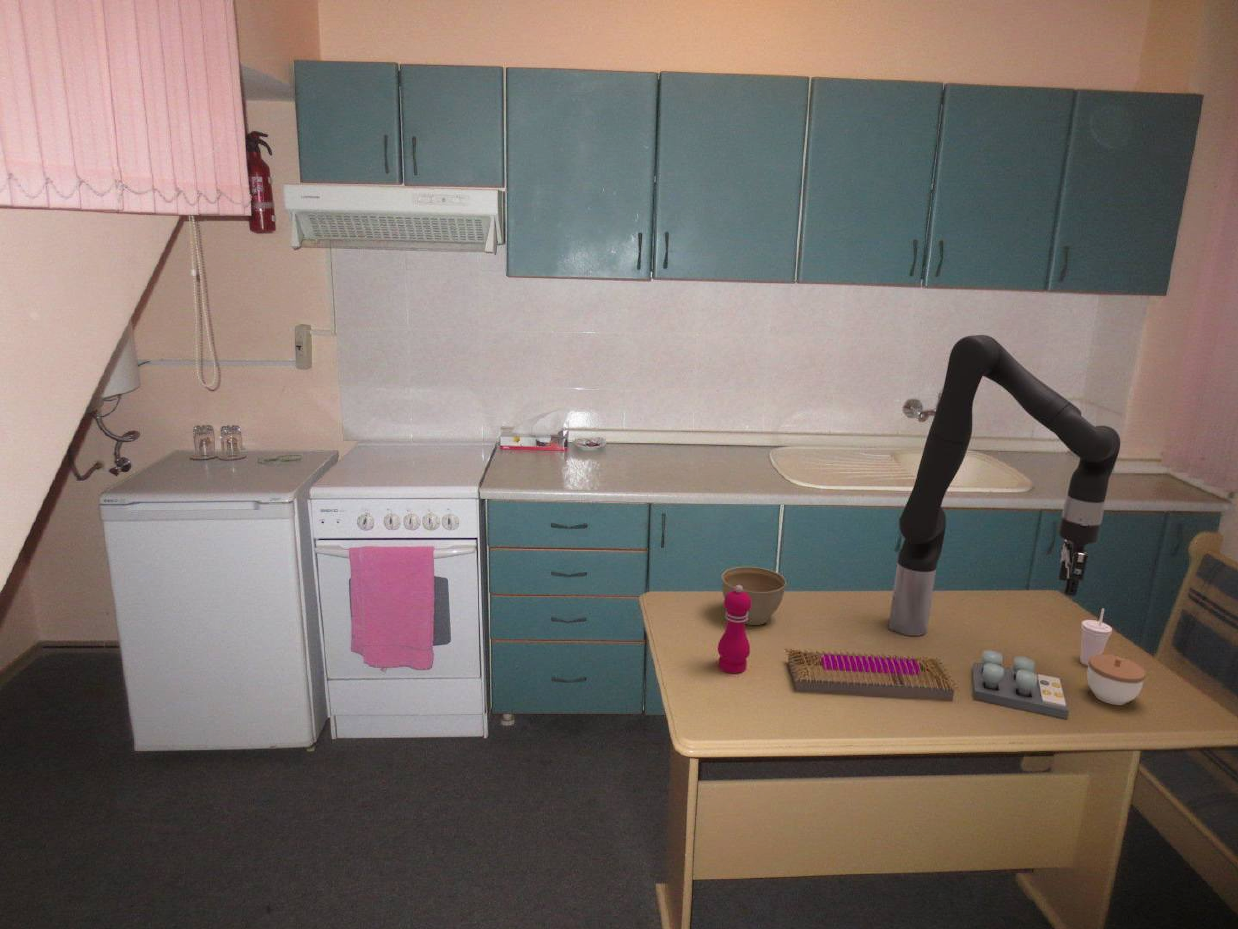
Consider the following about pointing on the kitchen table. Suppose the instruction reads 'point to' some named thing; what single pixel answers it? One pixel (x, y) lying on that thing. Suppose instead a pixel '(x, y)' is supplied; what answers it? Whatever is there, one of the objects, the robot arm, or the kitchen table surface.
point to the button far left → (991, 658)
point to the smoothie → (1093, 638)
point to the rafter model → (871, 666)
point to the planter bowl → (756, 590)
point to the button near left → (992, 675)
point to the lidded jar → (1114, 678)
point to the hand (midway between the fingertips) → (1066, 587)
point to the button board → (1041, 699)
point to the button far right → (1023, 664)
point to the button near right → (1025, 682)
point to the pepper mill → (735, 632)
